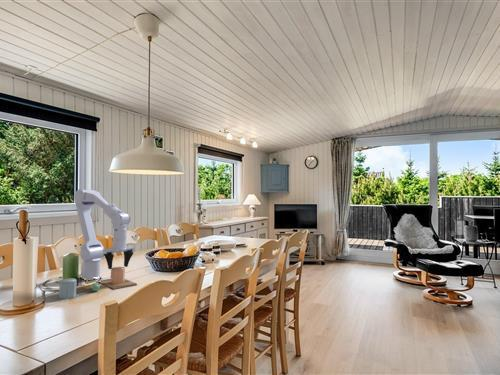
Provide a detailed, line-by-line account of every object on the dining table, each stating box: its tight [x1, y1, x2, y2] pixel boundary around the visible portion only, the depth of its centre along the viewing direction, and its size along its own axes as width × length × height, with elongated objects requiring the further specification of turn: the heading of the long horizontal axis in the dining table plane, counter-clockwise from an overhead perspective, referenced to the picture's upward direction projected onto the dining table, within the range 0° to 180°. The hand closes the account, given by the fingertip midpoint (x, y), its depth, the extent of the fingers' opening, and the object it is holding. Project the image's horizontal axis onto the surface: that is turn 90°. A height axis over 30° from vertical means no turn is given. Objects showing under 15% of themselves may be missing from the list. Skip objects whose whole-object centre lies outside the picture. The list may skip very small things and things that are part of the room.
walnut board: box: [99, 278, 138, 291], centre depth 146 cm, size 16×11×1 cm
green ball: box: [91, 283, 101, 292], centre depth 134 cm, size 3×3×3 cm
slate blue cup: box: [58, 277, 78, 300], centre depth 126 cm, size 6×6×7 cm
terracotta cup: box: [110, 266, 126, 284], centre depth 146 cm, size 6×6×7 cm
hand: (118, 267), depth 147 cm, fingers open, 7 cm apart
